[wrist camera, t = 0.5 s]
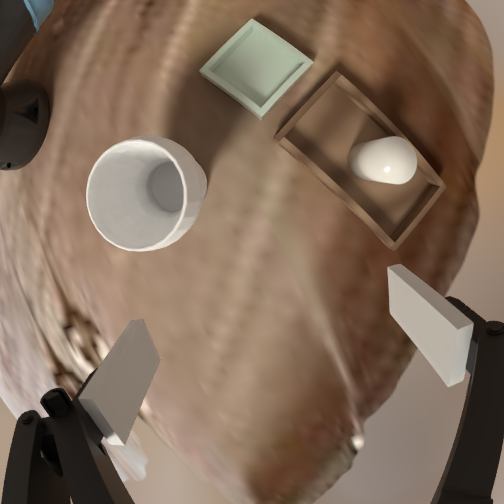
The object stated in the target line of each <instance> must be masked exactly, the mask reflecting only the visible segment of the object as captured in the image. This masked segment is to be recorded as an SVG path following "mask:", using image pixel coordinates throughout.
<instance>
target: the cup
mask: <svg viewBox="0 0 504 504" xmlns="http://www.w3.org/2000/svg"><path fill="white" fill-rule="evenodd" d="M206 191H207V179H206V175H205V172H204V170H203V169H202V167H201V166H200V165H199V164H198V163H197V162H196V161H195V159H194V157H193V156H192V155H191V154H190V153H189V152H188V151H187V150H186V149H185V148H184V147H183V146H181V145H179V144H177V143H176V142H174V141H172V140H169V139H166V138H162V137H158V136H153V135H144V136H136V137H133V138H130V139H128V140H125V141H123V142H120V143H118V144H115V145H113V146H112V147H111V148H109V149H108V150H107V151H105V152H104V153H103V154H102V155H101V157H100V158H99V159H98V160H97V162H96V163H95V164H94V167H93V169H92V171H91V173H90V175H89V179H88V184H87V189H86V198H87V207H88V211H89V215H90V218H91V220H92V222H93V224H94V225H95V227H96V229H97V230H98V231H99V233H100V234H101V235H102V236H103V237H104V238H105V239H106V240H107V241H109V242H110V243H112V244H113V245H115V246H116V247H119V248H122V249H125V250H128V251H149V250H155V249H159V248H163V247H166V246H168V245H170V244H172V243H173V242H175V241H177V240H178V239H179V238H180V237H181V236H183V235H184V234H185V233H186V232H187V231H188V230H189V229H190V228H191V227H192V226H193V224H194V222H195V221H196V219H197V217H198V215H199V214H200V211H201V207H202V203H203V200H204V198H205V195H206Z"/></svg>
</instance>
